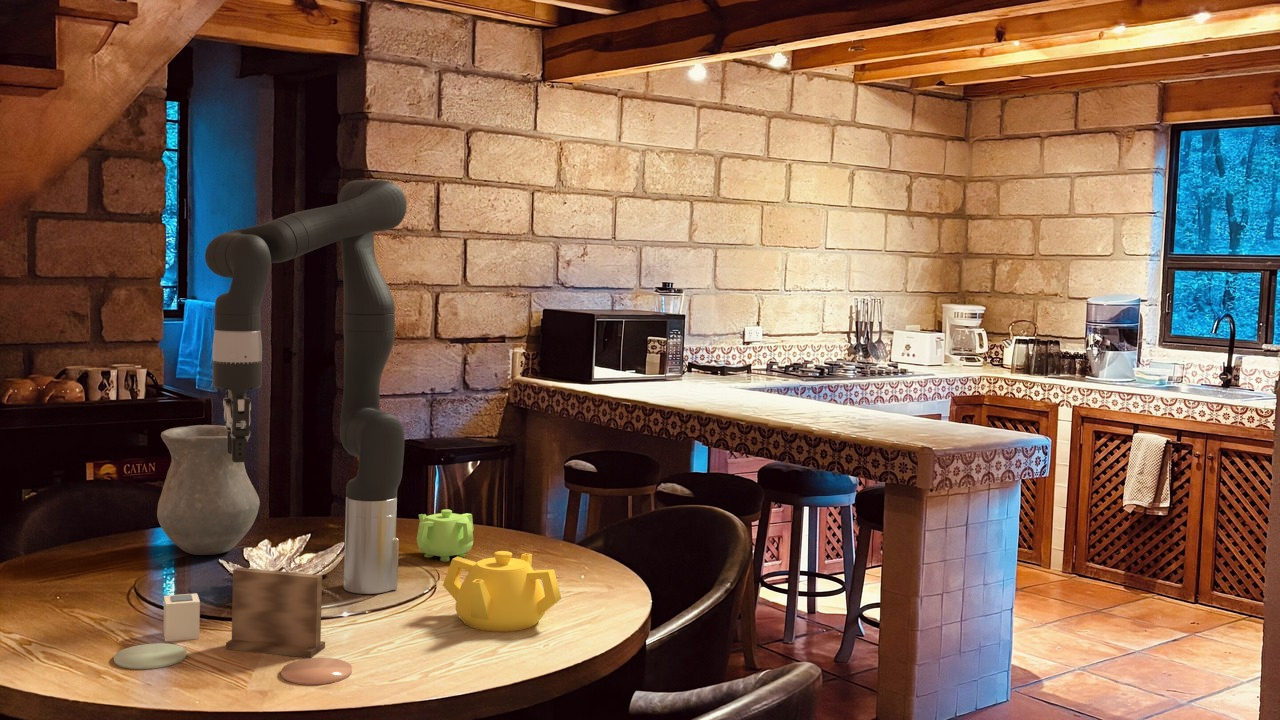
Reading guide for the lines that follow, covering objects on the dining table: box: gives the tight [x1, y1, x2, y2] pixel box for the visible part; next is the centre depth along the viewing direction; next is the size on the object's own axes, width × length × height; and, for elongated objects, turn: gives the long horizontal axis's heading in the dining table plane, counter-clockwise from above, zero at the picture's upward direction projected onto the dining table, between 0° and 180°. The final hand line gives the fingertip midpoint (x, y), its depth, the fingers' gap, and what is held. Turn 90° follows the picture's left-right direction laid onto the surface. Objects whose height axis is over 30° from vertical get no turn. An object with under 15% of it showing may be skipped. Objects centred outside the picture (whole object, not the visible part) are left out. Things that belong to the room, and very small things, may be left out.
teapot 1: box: [416, 509, 474, 563], centre depth 245 cm, size 12×12×10 cm
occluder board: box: [225, 567, 326, 659], centre depth 183 cm, size 14×5×12 cm, turn 80°
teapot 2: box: [442, 550, 562, 633], centre depth 202 cm, size 17×17×12 cm
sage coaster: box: [113, 642, 187, 670], centre depth 176 cm, size 10×10×1 cm
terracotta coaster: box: [280, 657, 353, 686], centre depth 173 cm, size 10×10×1 cm
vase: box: [156, 424, 260, 556], centre depth 240 cm, size 20×19×25 cm
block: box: [162, 593, 201, 643], centre depth 187 cm, size 5×5×6 cm
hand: (236, 457), depth 191 cm, fingers open, 8 cm apart
